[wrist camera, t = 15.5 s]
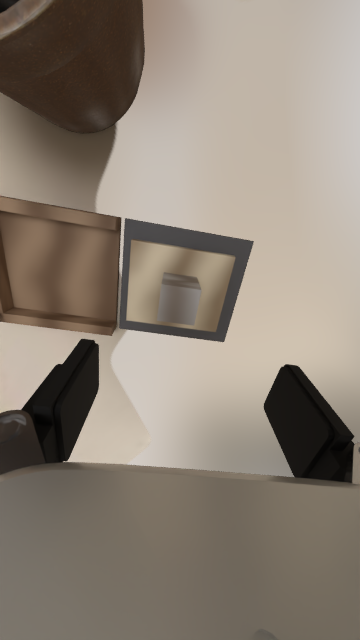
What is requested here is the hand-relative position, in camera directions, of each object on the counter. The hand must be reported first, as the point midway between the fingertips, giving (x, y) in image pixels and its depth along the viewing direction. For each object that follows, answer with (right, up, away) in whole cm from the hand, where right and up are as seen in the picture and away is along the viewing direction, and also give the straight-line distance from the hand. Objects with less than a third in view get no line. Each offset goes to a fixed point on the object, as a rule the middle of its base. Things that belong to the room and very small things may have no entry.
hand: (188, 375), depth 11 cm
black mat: (0, +7, +17) cm, 19 cm away
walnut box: (-15, +9, +16) cm, 23 cm away
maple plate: (-1, +7, +17) cm, 18 cm away
